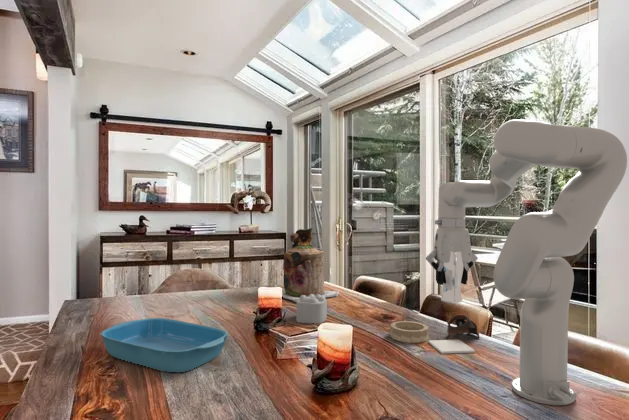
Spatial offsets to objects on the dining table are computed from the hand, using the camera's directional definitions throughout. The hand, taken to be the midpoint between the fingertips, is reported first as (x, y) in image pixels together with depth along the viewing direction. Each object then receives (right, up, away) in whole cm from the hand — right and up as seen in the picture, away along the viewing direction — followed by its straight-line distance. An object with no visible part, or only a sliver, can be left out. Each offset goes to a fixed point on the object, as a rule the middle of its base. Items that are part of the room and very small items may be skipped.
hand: (451, 283), depth 127 cm
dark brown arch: (+7, -19, +12) cm, 24 cm away
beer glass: (0, -5, 0) cm, 5 cm away
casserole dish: (-83, -19, -9) cm, 85 cm away
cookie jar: (-46, -18, +71) cm, 87 cm away
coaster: (0, -19, 0) cm, 19 cm away
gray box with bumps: (-42, -19, +31) cm, 56 cm away
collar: (-10, -19, +10) cm, 24 cm away
